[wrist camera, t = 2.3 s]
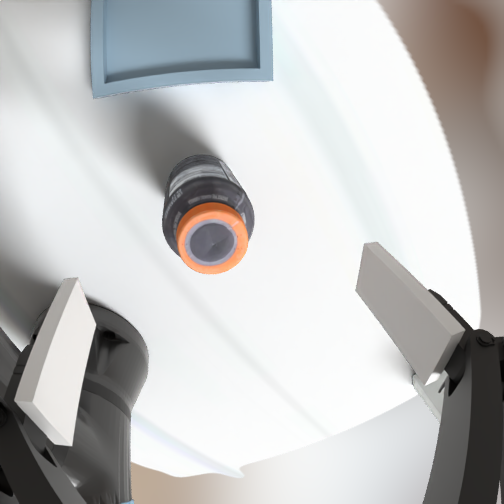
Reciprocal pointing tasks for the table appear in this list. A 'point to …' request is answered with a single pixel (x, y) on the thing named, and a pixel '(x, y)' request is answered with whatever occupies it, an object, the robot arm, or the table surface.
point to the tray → (178, 43)
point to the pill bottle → (207, 215)
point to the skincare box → (431, 394)
